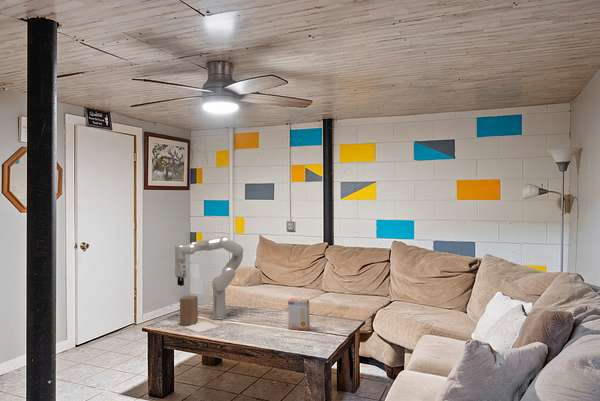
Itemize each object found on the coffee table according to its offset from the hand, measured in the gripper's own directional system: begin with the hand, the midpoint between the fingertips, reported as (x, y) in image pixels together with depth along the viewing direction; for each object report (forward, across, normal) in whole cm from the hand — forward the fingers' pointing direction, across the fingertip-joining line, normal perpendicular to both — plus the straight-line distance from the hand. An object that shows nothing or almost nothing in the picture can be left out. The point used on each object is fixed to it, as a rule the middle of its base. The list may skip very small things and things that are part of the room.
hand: (180, 285), depth 332 cm
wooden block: (+27, -11, 0) cm, 29 cm away
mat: (+27, -26, -1) cm, 38 cm away
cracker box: (+27, -81, -45) cm, 97 cm away
